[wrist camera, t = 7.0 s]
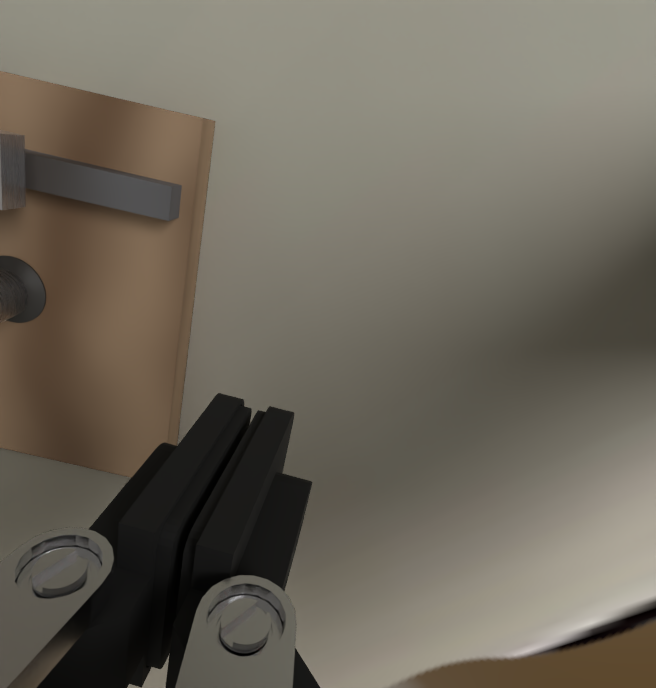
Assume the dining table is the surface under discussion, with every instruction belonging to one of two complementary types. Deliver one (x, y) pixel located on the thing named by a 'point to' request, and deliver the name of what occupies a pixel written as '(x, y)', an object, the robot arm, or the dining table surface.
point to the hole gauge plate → (99, 274)
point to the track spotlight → (9, 193)
